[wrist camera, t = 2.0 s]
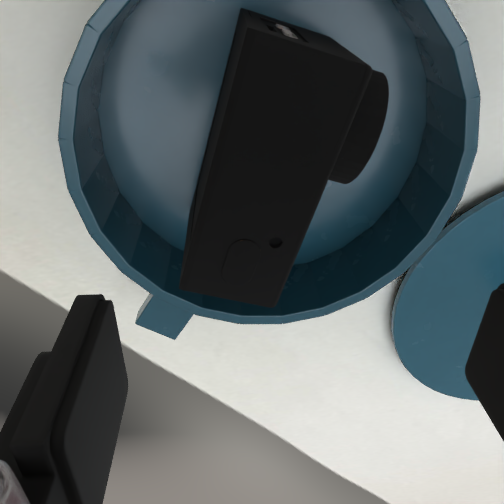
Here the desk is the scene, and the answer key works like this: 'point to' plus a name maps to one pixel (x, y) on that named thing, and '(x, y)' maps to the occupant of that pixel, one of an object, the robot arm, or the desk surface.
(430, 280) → the tin lid
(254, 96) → the digital camera
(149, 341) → the desk surface
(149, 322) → the tin
